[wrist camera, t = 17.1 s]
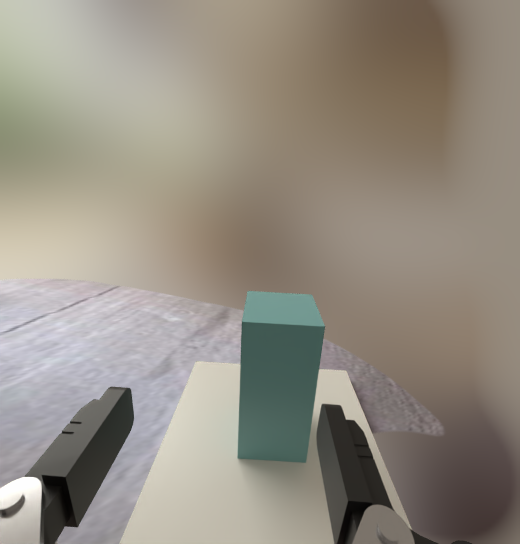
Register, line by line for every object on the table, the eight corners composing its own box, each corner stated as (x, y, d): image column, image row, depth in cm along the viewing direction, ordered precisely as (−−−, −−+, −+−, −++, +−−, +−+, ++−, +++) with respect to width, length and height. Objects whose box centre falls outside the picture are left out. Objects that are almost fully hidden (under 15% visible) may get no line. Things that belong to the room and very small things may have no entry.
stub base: (428, 593, 15) (459, 518, 13) (116, 569, 16) (102, 492, 14) (344, 379, 33) (352, 332, 31) (196, 369, 33) (195, 322, 31)
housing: (306, 462, 21) (325, 326, 18) (237, 458, 21) (241, 321, 18) (298, 408, 26) (311, 294, 23) (243, 405, 26) (247, 291, 23)
